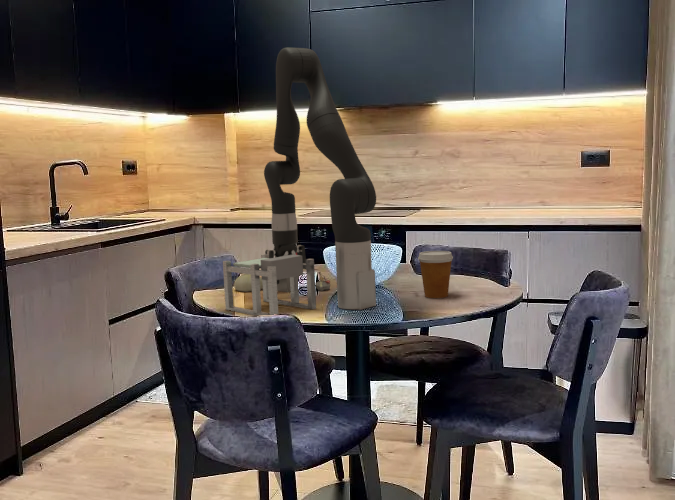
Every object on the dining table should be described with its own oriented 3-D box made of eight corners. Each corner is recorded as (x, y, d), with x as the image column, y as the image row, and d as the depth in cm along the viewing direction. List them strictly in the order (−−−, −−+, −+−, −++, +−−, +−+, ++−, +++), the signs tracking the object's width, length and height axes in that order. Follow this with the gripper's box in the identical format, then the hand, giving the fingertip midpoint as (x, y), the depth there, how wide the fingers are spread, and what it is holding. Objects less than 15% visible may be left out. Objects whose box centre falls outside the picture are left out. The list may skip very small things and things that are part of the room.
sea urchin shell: (267, 280, 212) (262, 265, 206) (264, 301, 207) (260, 286, 201) (238, 280, 213) (233, 265, 207) (235, 301, 208) (229, 287, 202)
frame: (316, 308, 176) (314, 259, 175) (274, 319, 166) (271, 266, 164) (267, 300, 190) (265, 254, 188) (225, 309, 179) (222, 261, 178)
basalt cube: (299, 289, 204) (298, 273, 204) (287, 292, 201) (286, 275, 200) (288, 288, 208) (287, 272, 207) (276, 290, 204) (275, 274, 203)
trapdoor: (303, 274, 175) (302, 255, 175) (272, 281, 168) (271, 261, 167) (265, 270, 186) (264, 252, 185) (234, 275, 178) (232, 257, 178)
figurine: (317, 287, 205) (316, 268, 204) (331, 287, 205) (331, 268, 203) (314, 293, 200) (313, 274, 199) (328, 293, 200) (328, 274, 198)
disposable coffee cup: (440, 301, 179) (439, 256, 178) (411, 297, 186) (410, 253, 184) (460, 295, 186) (460, 251, 184) (432, 291, 192) (431, 249, 191)
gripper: (274, 231, 194) (277, 286, 196) (310, 226, 204) (312, 279, 207) (257, 230, 199) (260, 284, 202) (293, 225, 209) (295, 276, 212)
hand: (286, 281), depth 204 cm, fingers open, 8 cm apart
